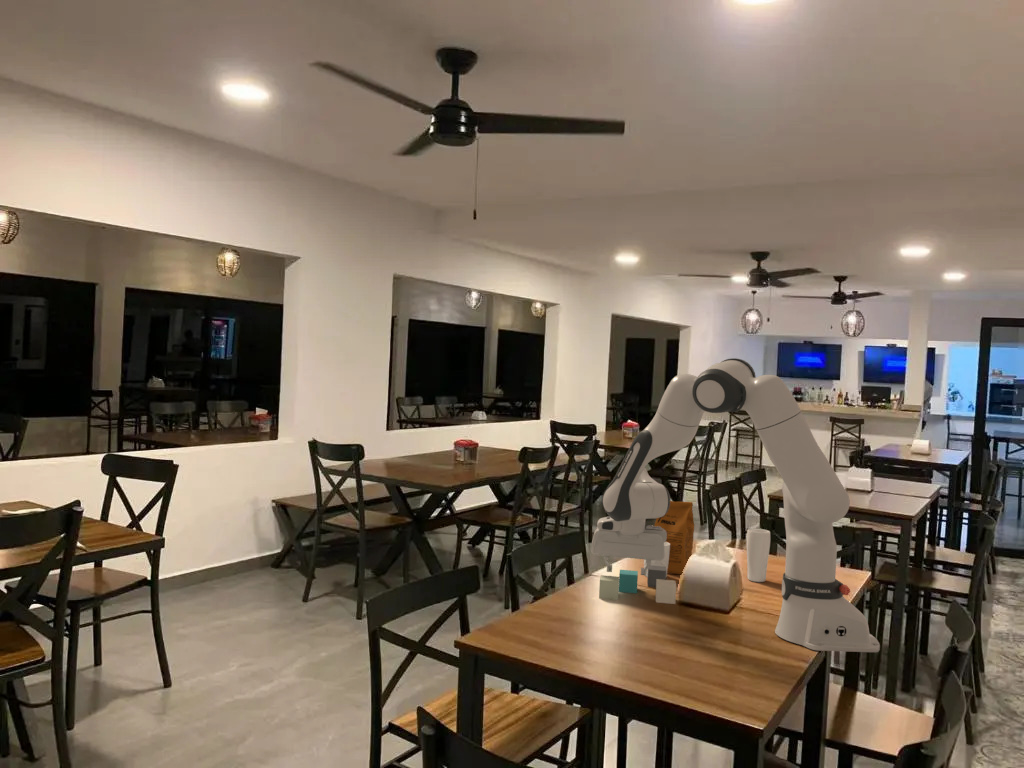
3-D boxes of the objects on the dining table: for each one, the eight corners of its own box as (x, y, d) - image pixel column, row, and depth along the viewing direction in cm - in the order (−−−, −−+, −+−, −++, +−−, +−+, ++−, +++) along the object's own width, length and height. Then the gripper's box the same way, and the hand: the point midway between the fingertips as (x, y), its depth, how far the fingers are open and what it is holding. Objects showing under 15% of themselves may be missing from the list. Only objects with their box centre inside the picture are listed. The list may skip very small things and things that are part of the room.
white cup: (649, 571, 234) (650, 538, 234) (673, 576, 230) (674, 543, 230) (637, 576, 228) (639, 542, 228) (662, 581, 223) (663, 547, 223)
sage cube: (618, 595, 207) (619, 576, 207) (617, 600, 202) (618, 581, 202) (599, 593, 208) (600, 575, 208) (598, 598, 203) (599, 579, 203)
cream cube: (674, 599, 206) (675, 580, 206) (675, 604, 201) (676, 585, 201) (655, 597, 207) (656, 579, 207) (656, 602, 202) (656, 583, 202)
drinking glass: (771, 583, 226) (773, 533, 225) (748, 582, 226) (750, 532, 225) (764, 577, 232) (766, 528, 232) (741, 576, 232) (744, 527, 232)
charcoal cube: (664, 583, 221) (665, 566, 221) (665, 588, 216) (666, 570, 216) (647, 582, 222) (648, 565, 222) (647, 586, 217) (648, 569, 217)
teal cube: (636, 588, 214) (637, 571, 214) (636, 593, 210) (637, 575, 209) (619, 587, 215) (619, 569, 215) (618, 592, 210) (619, 574, 210)
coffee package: (660, 563, 245) (663, 495, 244) (696, 571, 237) (699, 500, 237) (645, 569, 237) (648, 498, 237) (682, 577, 229) (686, 504, 229)
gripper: (666, 524, 213) (663, 573, 214) (593, 518, 217) (590, 567, 217) (667, 529, 207) (664, 579, 207) (592, 522, 210) (589, 572, 210)
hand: (626, 573), depth 212 cm, fingers open, 8 cm apart
